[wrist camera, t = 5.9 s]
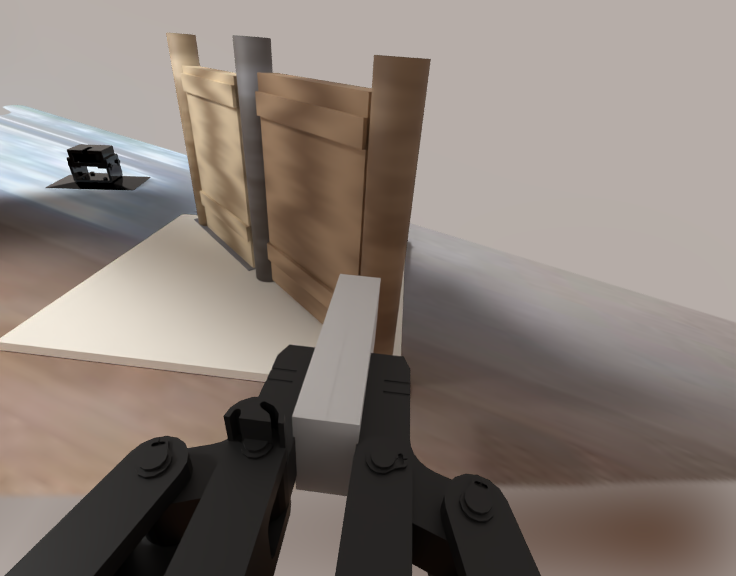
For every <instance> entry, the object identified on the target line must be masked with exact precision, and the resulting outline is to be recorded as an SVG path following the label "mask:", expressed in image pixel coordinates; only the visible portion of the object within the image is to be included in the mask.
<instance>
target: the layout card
mask: <svg viewBox="0 0 736 576" xmlns="http://www.w3.org/2000/svg"><path fill="white" fill-rule="evenodd" d="M407 241H408V240H407ZM403 290H404V271H403V279H402V287H401V295H400V303H399V311H398V318H397V326H396V334H395V342H394V350H393V355H394V356H401V343H402V316H403ZM322 326H323V325H322V324H321V323H320V322H319V321H318V320H317V319H316V318H315V317H314V316H312V315H311V314H310V313H309V312H308V311H307V310H306V309H305V308H303V307H302V306H301V305H300V304H299V303H298V302H297V301H296V300H294V299H293V298H292V297H291V296H290V295H289V294H288V293H287V292H285V291H284V290H283V289H282V288H281V287H280V286H279V285H278V284H276V283H275V282H262V281H259V280H258V279H257V278H256V269H255V267H254V268H253V267H251V266H250V265H249V264H248V263H247V262H246V261H245V260H244V259H243V258H242V257H240V256H239V255H238V254H237V253H236V252H235V251H234V250H233V249H232V248H231V247H229V246H228V245H227V244H226V243H225V242H224V241H223V240H222V239H221V238H220V237H218V236H217V235H216V234H215V233H214V232H213V231H212V230H211V229H210V228H209V227H208V226H203V225H200V224H199V220H198V215H188V214H182V215H180V216H179V217H177V218H176V219H175V220H173V221H172V222H170V223H169V224H167V225H166V226H164V227H163V228H161V229H160V230H158V231H157V232H155V233H154V234H153V235H151V236H150V237H148V238H147V239H145V240H144V241H142V242H141V243H139V244H138V245H136V246H135V247H133V248H132V249H130V250H129V251H128V252H126V253H125V254H123V255H122V256H120V257H119V258H117V259H116V260H114V261H113V262H111V263H110V264H108V265H107V266H106V267H104V268H103V269H101V270H100V271H98V272H97V273H95V274H94V275H92V276H91V277H89V278H88V279H86V280H85V281H83V282H82V283H81V284H79V285H78V286H76V287H75V288H73V289H72V290H70V291H69V292H67V293H66V294H64V295H63V296H61V297H60V298H59V299H57V300H56V301H54V302H53V303H51V304H50V305H48V306H47V307H45V308H44V309H42V310H41V311H39V312H38V313H37V314H35V315H34V316H32V317H31V318H29V319H28V320H26V321H25V322H23V323H22V324H20V325H19V326H17V327H16V328H14V329H13V330H12V331H10V332H9V333H7V334H6V335H4V336H3V337H1V338H0V350H3V351H11V352H20V353H28V354H36V355H44V356H53V357H61V358H69V359H78V360H86V361H94V362H102V363H111V364H119V365H127V366H136V367H144V368H152V369H160V370H169V371H177V372H185V373H194V374H202V375H210V376H218V377H227V378H235V379H243V380H252V381H260V382H265V381H267V377H268V375H269V373H270V370H272V366H273V364H274V362H275V359H276V357H277V355H278V354H279V353H280V352H281V351H282V350H284V349H285V348H286V347H287V346H288V345H289V344H290V345H298V346H307V347H316V344H317V341H318V338H319V335H320V332H321V329H322Z"/></svg>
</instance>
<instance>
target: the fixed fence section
mask: <svg viewBox="0 0 736 576" xmlns="http://www.w3.org/2000/svg"><path fill="white" fill-rule="evenodd" d="M166 35H167V41H168V46H169V52H170V58H171V64H172V69H173V75H174V81H175V87H176V93H177V99H178V104H179V110H180V116H181V122H182V128H183V133H184V139H185V145H186V151H187V157H188V162H189V168H190V174H191V180H192V186H193V191H194V197H195V203H196V209H197V215H198V220H199V224H200V225H203V226H208V227H209V228H210V229H211V230H212V231H213V232H214V233H215V234H216V235H217V236H218V237H220V238H221V239H222V240H223V241H224V242H225V243H226V244H227V245H228V246H229V247H231V248H232V249H233V250H234V251H235V252H236V253H237V254H238V255H239V256H240V257H242V258H243V259H244V260H245V261H246V262H247V263H248V264H249V265H250V266H251V267H253V268H254V267H255V269H256V278H257V279H258V280H259V281H262V282H274V281H273V280H272V267H271V261H270V260H269V259H268V251H267V243H269V242H270V240H269V227H268V213H267V200H266V186H265V172H264V159H263V145H262V132H261V118H260V116H258V115H257V110H256V97H255V91H258V78H257V72H261V73H272V56H271V39H270V38H260V37H248V36H234V35H233V45H234V55H235V66H236V73H232V72H227V71H222V70H216V69H211V68H206V67H201V66H200V64H199V57H198V50H197V43H196V36H195V35H189V34H177V33H166Z"/></svg>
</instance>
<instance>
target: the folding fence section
mask: <svg viewBox="0 0 736 576" xmlns="http://www.w3.org/2000/svg"><path fill="white" fill-rule="evenodd" d="M430 60H431V59H422V58H409V57H408V58H407V57H395V56H382V55H374V64H373V81H372V88H366V87H359V86H353V85H347V84H341V83H335V82H329V81H323V80H316V79H311V78H304V77H298V76H292V75H286V74H280V73H261V72H257V78H258V91H255V97H256V110H257V115H258V116H260V118H261V132H262V145H263V159H264V172H265V186H266V200H267V213H268V227H269V240H270V242H269V243H267V251H268V259H269V260H270V261H271V267H272V280H273V281H274V282H275V283H276V284H278V285H279V286H280V287H281V288H282V289H283V290H284V291H285V292H287V293H288V294H289V295H290V296H291V297H292V298H293V299H294V300H296V301H297V302H298V303H299V304H300V305H301V306H302V307H303V308H305V309H306V310H307V311H308V312H309V313H310V314H311V315H312V316H314V317H315V318H316V319H317V320H318V321H319V322H320V323H321V324H322V325H323V323H324V320H325V317H326V314H327V311H328V308H329V305H330V302H331V299H332V296H333V293H334V290H335V287H336V284H337V281H338V278H339V275H340V274H347V275H356V276H366V277H375V278H381V281H380V292H379V303H378V313H377V324H376V335H375V343H374V351H373V353H377V354H386V355H393V350H394V342H395V334H396V326H397V318H398V311H399V303H400V295H401V287H402V279H403V271H404V264H405V256H406V248H407V240H408V232H409V224H410V216H411V209H412V201H413V193H414V185H415V177H416V170H417V161H418V154H419V146H420V138H421V130H422V123H423V122H422V121H423V115H424V107H425V99H426V91H427V83H428V76H429V67H430Z"/></svg>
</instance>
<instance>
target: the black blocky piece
mask: <svg viewBox="0 0 736 576" xmlns="http://www.w3.org/2000/svg"><path fill="white" fill-rule="evenodd" d="M67 152H68V155H69V157H68V158H67V161H68V166H69V167H70V170H71V173H72V175H69V176H67V177H65V178H63V179H61V180H59V181H57V182H55V183H53V184H51V185H49V186H47V187H46V188H67V189H104V190H134V189H136V188H137V187H138V186H140V185H141V184H142V183H144V182H145V181H146V180H148V179H149V178H150V177H135V176H122V175H123V174H122V170H121V166H120V160H119V159H118V155H117V154H114V150H113V146H109V145H83V144H80V145H77V146H75V147H72V148H70V149H67ZM87 166H90V167H98V168H104V169H107V173H94V172H90V173H88V170H87Z"/></svg>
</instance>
